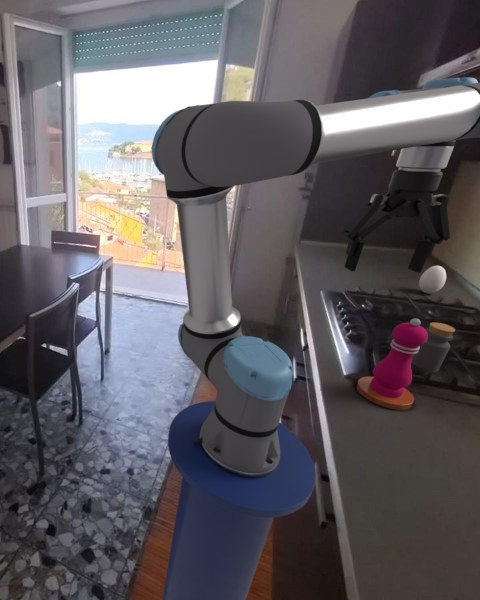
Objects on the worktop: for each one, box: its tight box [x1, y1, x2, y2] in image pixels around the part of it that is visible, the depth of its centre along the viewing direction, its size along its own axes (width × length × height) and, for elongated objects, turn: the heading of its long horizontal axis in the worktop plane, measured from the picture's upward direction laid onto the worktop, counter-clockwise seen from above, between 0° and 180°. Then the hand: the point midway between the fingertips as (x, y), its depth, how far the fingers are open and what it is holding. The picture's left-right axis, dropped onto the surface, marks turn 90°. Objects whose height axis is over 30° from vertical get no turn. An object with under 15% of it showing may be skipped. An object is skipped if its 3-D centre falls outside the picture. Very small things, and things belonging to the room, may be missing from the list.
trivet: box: [356, 376, 415, 411], centre depth 89 cm, size 11×11×2 cm
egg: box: [418, 265, 447, 295], centre depth 143 cm, size 7×7×12 cm
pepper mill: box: [370, 318, 428, 398], centre depth 84 cm, size 7×7×20 cm
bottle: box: [411, 321, 456, 373], centre depth 93 cm, size 6×6×15 cm
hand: (381, 269), depth 80 cm, fingers open, 13 cm apart
